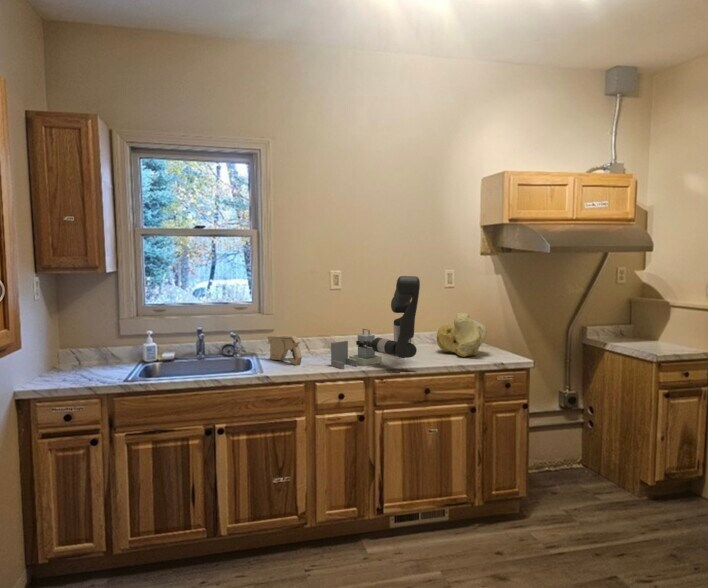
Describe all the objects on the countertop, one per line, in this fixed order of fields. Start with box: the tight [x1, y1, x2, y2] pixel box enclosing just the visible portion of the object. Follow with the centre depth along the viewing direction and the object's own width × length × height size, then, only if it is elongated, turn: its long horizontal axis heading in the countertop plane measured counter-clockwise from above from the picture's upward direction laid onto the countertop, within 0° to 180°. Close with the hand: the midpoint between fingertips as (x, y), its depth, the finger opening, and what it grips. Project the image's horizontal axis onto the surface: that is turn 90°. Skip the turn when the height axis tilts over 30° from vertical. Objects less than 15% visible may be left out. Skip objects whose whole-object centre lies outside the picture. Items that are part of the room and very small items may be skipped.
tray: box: [348, 353, 383, 366], centre depth 269 cm, size 12×13×3 cm
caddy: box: [357, 328, 376, 359], centre depth 267 cm, size 6×7×17 cm
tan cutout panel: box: [267, 335, 303, 366], centre depth 269 cm, size 24×3×15 cm, turn 47°
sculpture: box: [436, 311, 487, 358], centre depth 286 cm, size 25×26×30 cm
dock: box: [330, 340, 359, 370], centre depth 258 cm, size 10×10×12 cm
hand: (362, 341), depth 269 cm, fingers open, 8 cm apart
